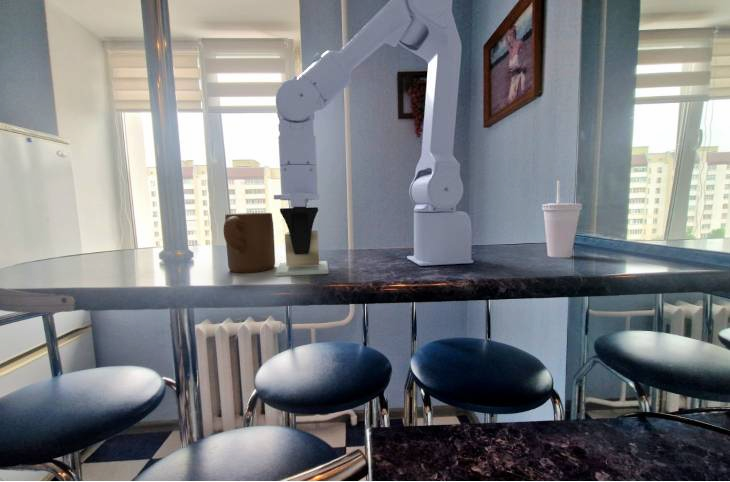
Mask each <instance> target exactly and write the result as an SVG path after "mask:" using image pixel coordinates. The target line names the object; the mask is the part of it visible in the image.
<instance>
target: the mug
mask: <svg viewBox="0 0 730 482" xmlns="http://www.w3.org/2000/svg"><path fill="white" fill-rule="evenodd" d="M224 217H225V219H224V220H225V221H224V223H223V238H224V240H225V244H226V253H227V254H226V255H227V266H228V269H229V271H230V272H232V273H238V274H239V273H240V274H250V273H259V272H260V273H261V272H265V271H269V270H272V269H274V267H275V266H276V265H275V264H276V255H275V252H276V251H275V250H276V249H275V231H274V229H275V228H274V221H273V220H274V219H273V213H272V212H245V213H240V212H239V213H227V214H226V213H225V216H224Z"/></svg>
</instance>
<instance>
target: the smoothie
mask: <svg viewBox="0 0 730 482" xmlns="http://www.w3.org/2000/svg"><path fill="white" fill-rule="evenodd" d="M556 181H557V183H556V184H557V185H556V202H555V203H545V204H544V203H543V204H541V210H542V211H543V220H544V229H545V230H544V231H545V240H546V250H547V252H546V253H547V257H550V258H557V259H558V258H559V259H569V258H571V257H572V253H573V249H574V248H573V247H574V242H575V239H576V234H577V233H576V232H577V228H578V223H579V216H580V212H581V210H583V204H582V203H575V202H561V192H562V191H561V190H562V189H561V188H562V187H561V186H562V180H556Z"/></svg>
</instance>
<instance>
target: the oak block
mask: <svg viewBox="0 0 730 482" xmlns="http://www.w3.org/2000/svg"><path fill="white" fill-rule="evenodd" d="M284 242H285V243H284V244H285V245H284V247H285V263H286V265H287V266H303V265H319V261H320V255H319V254H320V253H319V233H318V230H312V232H311V242H310V249H309V253H308V254H297V255H295V253H294V250H293V247H292V242H291V238H290V233H289V231H286V232H285V233H284Z"/></svg>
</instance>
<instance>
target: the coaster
mask: <svg viewBox="0 0 730 482" xmlns="http://www.w3.org/2000/svg"><path fill="white" fill-rule="evenodd" d="M329 270H330V269H329V266H328V261H327V260H319V265H303V266H287V265H286V262H280V263H279V264H278V266H277V268H276V270H275V272H274V275H275V277H286V276H287V277H288V276H302V275H306V276H307V275H323V274H330V272H329Z"/></svg>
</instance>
